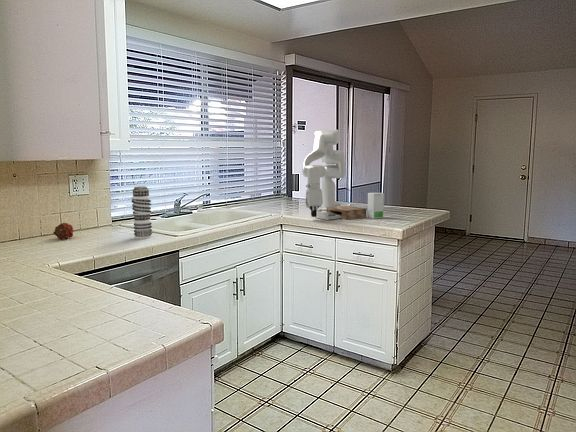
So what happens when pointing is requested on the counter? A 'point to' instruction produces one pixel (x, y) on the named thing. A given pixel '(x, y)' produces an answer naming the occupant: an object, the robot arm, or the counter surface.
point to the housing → (348, 212)
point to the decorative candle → (141, 212)
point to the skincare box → (375, 205)
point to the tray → (325, 216)
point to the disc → (330, 214)
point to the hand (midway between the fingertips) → (313, 216)
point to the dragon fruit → (63, 231)
